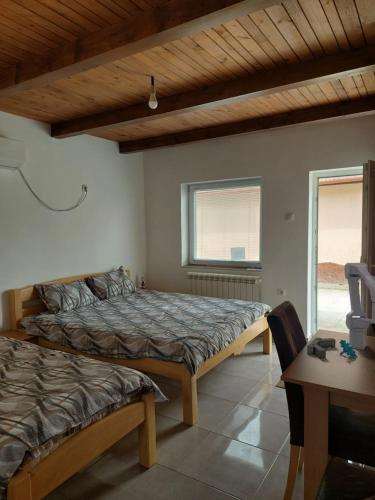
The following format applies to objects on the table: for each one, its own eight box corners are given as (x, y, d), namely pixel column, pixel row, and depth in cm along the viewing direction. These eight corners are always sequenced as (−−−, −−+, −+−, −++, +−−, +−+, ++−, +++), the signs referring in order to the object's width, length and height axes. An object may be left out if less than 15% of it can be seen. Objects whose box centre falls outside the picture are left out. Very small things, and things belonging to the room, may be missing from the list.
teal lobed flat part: (352, 358, 164) (338, 339, 170) (342, 364, 167) (329, 346, 173) (361, 355, 172) (347, 337, 177) (351, 361, 175) (338, 344, 180)
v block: (318, 342, 191) (318, 335, 191) (336, 346, 186) (336, 338, 185) (304, 355, 173) (305, 347, 172) (324, 359, 167) (324, 351, 167)
